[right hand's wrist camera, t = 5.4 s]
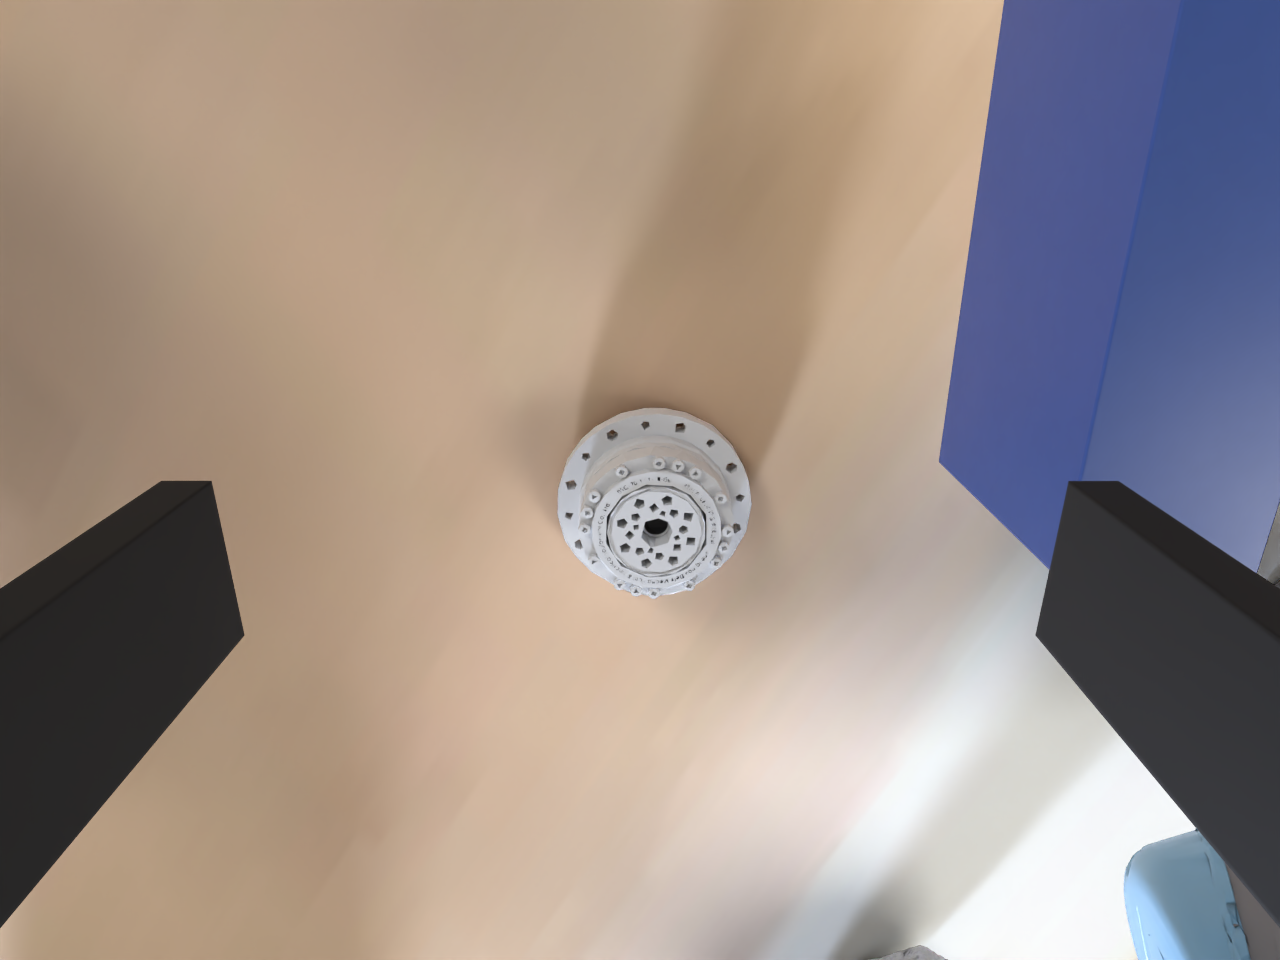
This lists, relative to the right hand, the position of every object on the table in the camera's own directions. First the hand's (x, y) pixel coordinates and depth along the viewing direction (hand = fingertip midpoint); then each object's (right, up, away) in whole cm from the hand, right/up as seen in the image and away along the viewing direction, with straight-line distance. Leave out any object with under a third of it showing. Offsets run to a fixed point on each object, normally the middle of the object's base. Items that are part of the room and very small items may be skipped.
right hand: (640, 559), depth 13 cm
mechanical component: (+1, 0, +30) cm, 30 cm away
